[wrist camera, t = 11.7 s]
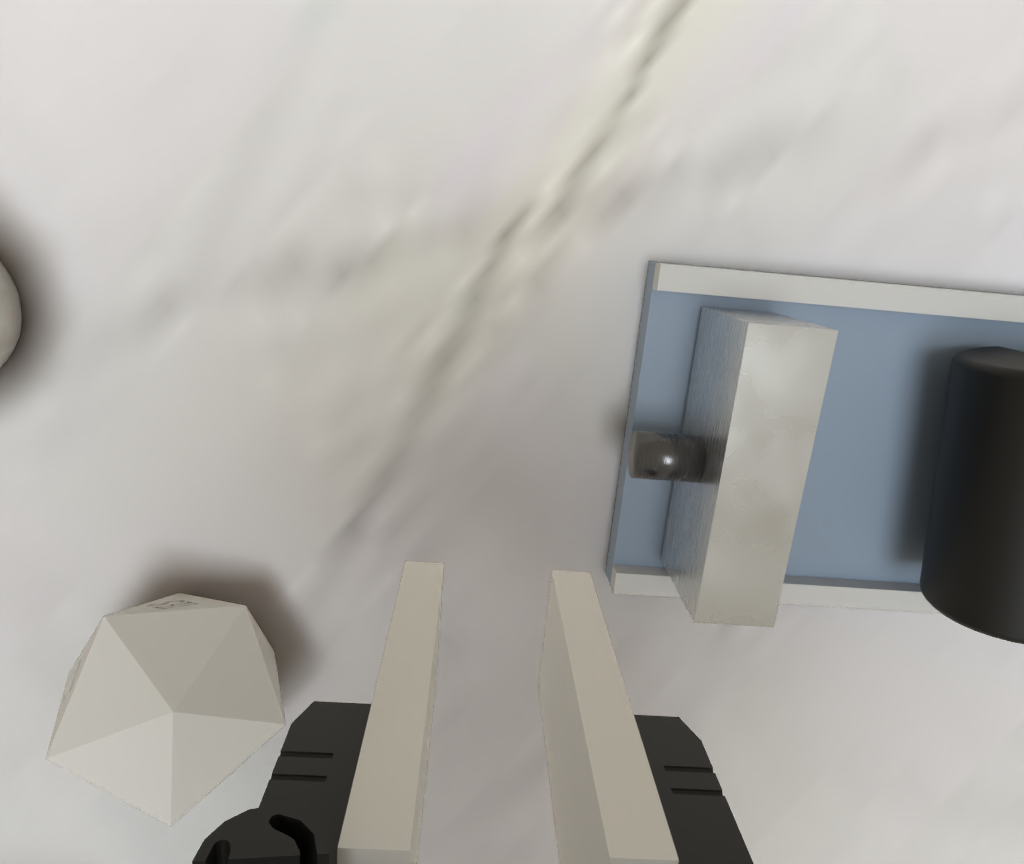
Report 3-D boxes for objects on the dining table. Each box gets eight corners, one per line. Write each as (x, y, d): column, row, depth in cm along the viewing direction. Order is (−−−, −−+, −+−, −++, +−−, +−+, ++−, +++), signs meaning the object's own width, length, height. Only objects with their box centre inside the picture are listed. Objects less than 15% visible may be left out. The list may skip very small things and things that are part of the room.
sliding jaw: (727, 564, 30) (773, 627, 26) (604, 556, 30) (627, 618, 25) (776, 313, 27) (838, 330, 23) (639, 301, 27) (673, 316, 22)
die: (266, 529, 31) (25, 601, 24) (363, 696, 29) (132, 837, 21) (201, 614, 36) (-21, 698, 28) (281, 765, 34) (64, 903, 26)
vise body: (1134, 604, 34) (1274, 685, 28) (605, 572, 32) (633, 650, 26) (1243, 315, 30) (1434, 336, 24) (648, 261, 28) (693, 269, 22)
